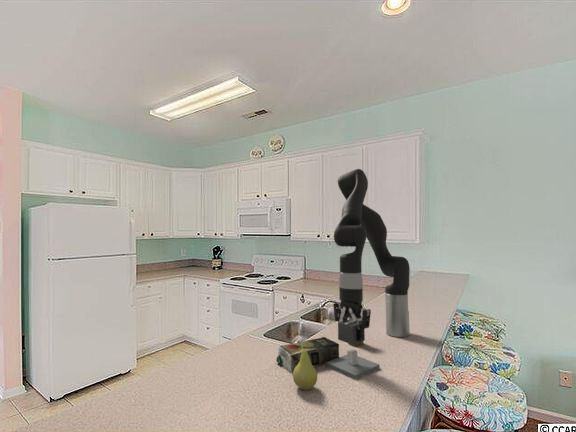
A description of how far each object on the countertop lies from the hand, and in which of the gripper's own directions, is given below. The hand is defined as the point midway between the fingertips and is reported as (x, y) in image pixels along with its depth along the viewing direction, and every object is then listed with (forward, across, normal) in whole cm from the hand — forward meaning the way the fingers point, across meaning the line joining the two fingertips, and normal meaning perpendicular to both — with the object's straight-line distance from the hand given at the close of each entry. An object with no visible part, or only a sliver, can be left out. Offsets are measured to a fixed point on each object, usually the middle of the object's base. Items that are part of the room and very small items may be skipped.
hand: (351, 338), depth 100 cm
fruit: (+9, 0, -21) cm, 23 cm away
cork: (+9, -13, +18) cm, 24 cm away
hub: (+9, 0, 0) cm, 9 cm away
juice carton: (+10, -13, -8) cm, 18 cm away
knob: (+1, 0, 0) cm, 1 cm away
